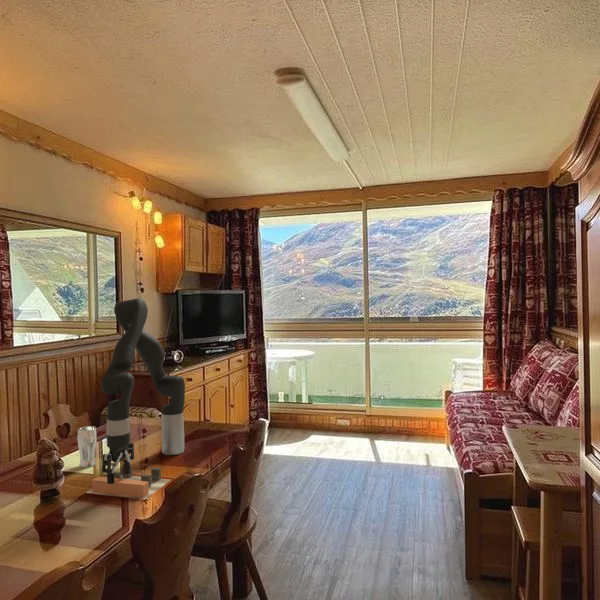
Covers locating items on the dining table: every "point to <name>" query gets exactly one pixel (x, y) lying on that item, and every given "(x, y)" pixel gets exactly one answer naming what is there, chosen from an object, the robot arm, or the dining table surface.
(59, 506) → the dining table surface
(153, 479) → the board
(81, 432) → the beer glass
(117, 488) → the bar
